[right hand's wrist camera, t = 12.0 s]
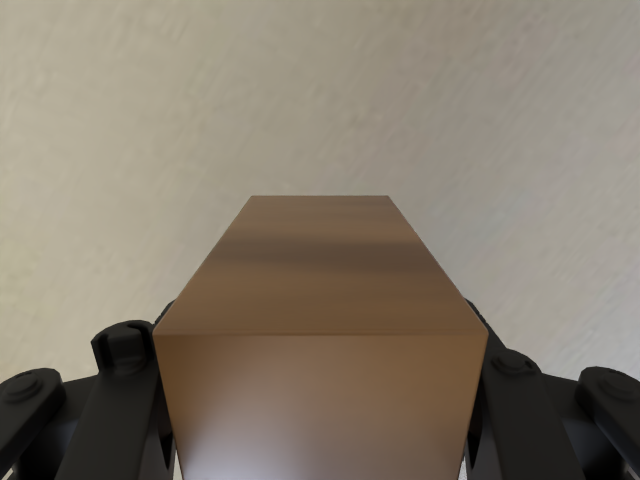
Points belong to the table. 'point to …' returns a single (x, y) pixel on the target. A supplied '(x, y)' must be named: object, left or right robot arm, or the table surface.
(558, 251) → the table surface
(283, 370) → the bar
